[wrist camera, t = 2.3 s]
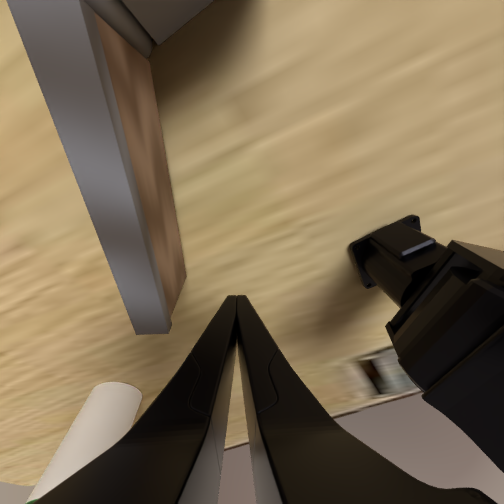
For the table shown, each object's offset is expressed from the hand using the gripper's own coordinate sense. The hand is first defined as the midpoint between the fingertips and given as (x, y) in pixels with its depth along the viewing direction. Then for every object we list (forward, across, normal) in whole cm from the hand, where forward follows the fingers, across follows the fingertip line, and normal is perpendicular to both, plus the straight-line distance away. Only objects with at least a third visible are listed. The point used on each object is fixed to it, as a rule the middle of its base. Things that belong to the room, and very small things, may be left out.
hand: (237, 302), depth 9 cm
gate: (+9, +6, -3) cm, 12 cm away
